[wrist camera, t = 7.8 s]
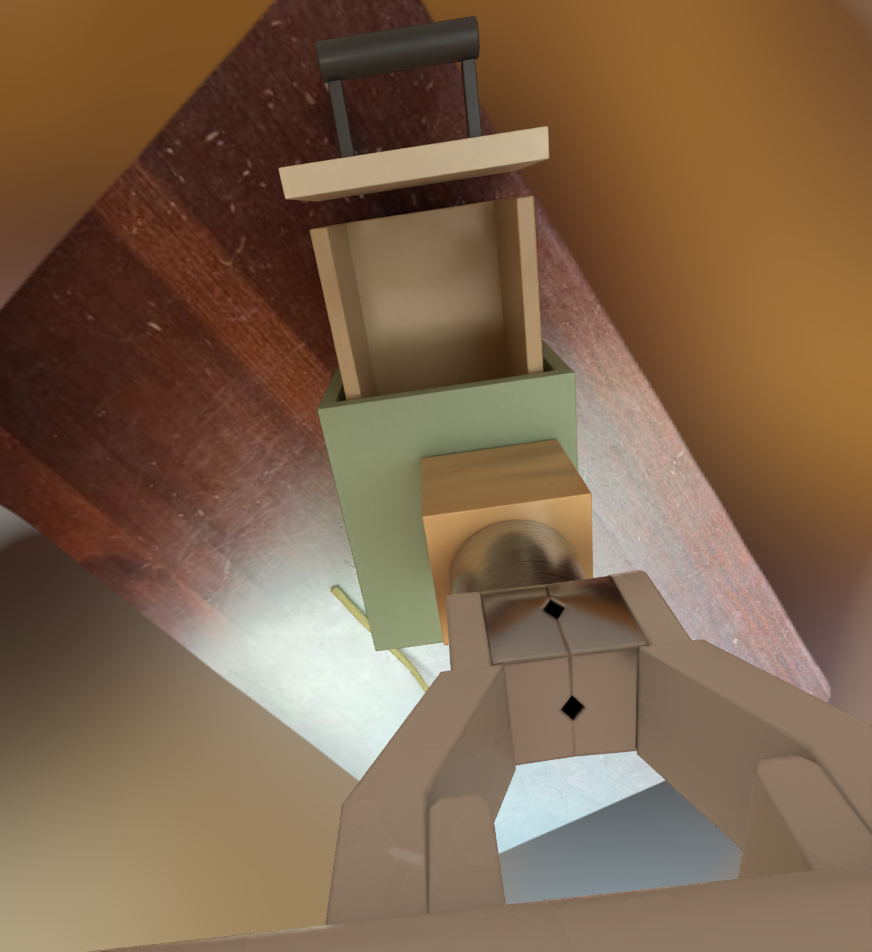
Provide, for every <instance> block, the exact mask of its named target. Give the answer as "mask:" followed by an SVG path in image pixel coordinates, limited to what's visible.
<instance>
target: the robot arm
mask: <svg viewBox="0 0 872 952" xmlns="http://www.w3.org/2000/svg"><path fill="white" fill-rule="evenodd" d="M446 609H447V623H448V637H449V651H450V665H451V671H445V672H441V673H440V674H439V675H438V677H437V678H436V679H435V681H434V682H433V683H432V685H431V686H430V687H429V689H428V690H427V691H426V693H425V694H424V695H423V697H422V698H421V699H420V701H419V702H418V704H417V705H416V706H415V708H414V709H413V710H412V712H411V713H410V714H409V716H408V717H407V718H406V720H405V721H404V722H403V724H402V725H401V726H400V728H399V729H398V730H397V732H396V733H395V734H394V736H393V737H392V738H391V740H390V741H389V742H388V744H387V745H386V746H385V748H384V749H383V751H382V752H381V753H380V755H379V756H378V757H377V759H376V760H375V761H374V763H373V764H372V765H371V767H370V768H369V769H368V771H367V772H366V773H365V775H364V776H363V777H362V779H361V780H360V781H359V783H358V784H357V785H356V787H355V788H354V789H353V791H352V792H351V794H350V795H349V796H348V798H347V799H346V800H345V802H344V803H343V804H342V808H341V815H340V823H339V830H338V837H337V844H336V852H335V859H334V866H333V874H332V881H331V888H330V895H329V902H328V909H327V917H326V924H325V925H321V926H312V927H304V928H294V929H285V930H276V931H267V932H259V933H250V934H241V935H232V936H223V937H214V938H205V939H197V940H187V941H178V942H170V943H161V944H152V945H143V946H134V947H126V948H116V949H108V950H98V951H90V952H872V726H871V725H869V724H867V723H865V722H863V721H861V720H860V719H858V718H855V717H853V716H852V715H850V714H848V713H846V712H844V711H842V710H840V709H838V708H836V707H834V706H832V705H830V704H828V703H826V702H824V701H822V700H820V699H818V698H816V697H814V696H812V695H811V694H809V693H807V692H805V691H803V690H801V689H799V688H797V687H795V686H793V685H791V684H789V683H787V682H785V681H783V680H781V679H779V678H777V677H775V676H773V675H771V674H769V673H767V672H765V671H763V670H761V669H760V668H758V667H756V666H754V665H752V664H750V663H748V662H746V661H744V660H742V659H740V658H738V657H736V656H734V655H732V654H730V653H728V652H726V651H724V650H722V649H720V648H718V647H716V646H714V645H712V644H710V643H708V642H707V641H705V640H703V639H701V640H691V639H690V637H689V636H688V634H687V633H686V631H685V630H684V628H683V627H682V625H681V624H680V622H679V621H678V619H677V618H676V616H675V615H674V613H673V612H672V610H671V609H670V607H669V606H668V604H667V603H666V602H665V600H664V599H663V597H662V596H661V594H660V593H659V591H658V590H657V588H656V587H655V585H654V584H653V582H652V581H651V579H650V578H649V576H648V575H647V573H646V572H644V571H642V570H637V571H631V572H624V573H618V574H612V575H608V576H606V577H598V578H591V579H584V580H576V581H569V582H562V583H554V584H547V585H544V584H542V585H533V586H523V587H514V588H505V589H495V590H486V591H480V594H479V592H478V591H477V592H469V593H462V594H454V595H447V598H446ZM629 751H637V754H638V755H639V756H640V757H641V758H642V759H643V760H644V761H645V762H646V763H647V764H649V765H650V766H651V767H652V768H653V769H654V770H655V771H656V772H657V773H658V774H660V775H661V776H662V777H663V778H664V779H665V780H666V781H667V782H668V783H669V784H671V785H672V786H673V787H674V788H675V789H676V790H677V791H678V792H679V793H680V794H682V795H683V796H684V797H685V798H686V799H687V800H688V801H689V802H690V803H691V804H692V805H693V806H695V807H696V808H697V809H698V810H699V811H700V812H701V813H702V814H703V815H704V816H705V817H707V818H708V819H709V820H710V821H711V822H712V823H713V824H714V825H715V826H716V827H717V828H719V829H720V830H721V831H722V832H723V833H724V834H725V835H726V836H727V837H728V838H730V839H731V840H732V841H733V842H734V843H735V844H736V845H737V846H738V847H739V848H740V849H742V856H741V863H740V870H739V876H738V879H733V880H724V881H715V882H706V883H697V884H688V885H679V886H670V887H661V888H652V889H643V890H634V891H625V892H616V893H607V894H598V895H589V896H580V897H571V898H562V899H553V900H544V901H536V902H526V903H517V904H508V905H506V904H505V897H504V890H503V883H502V876H501V869H500V862H499V854H498V847H497V840H496V833H495V826H494V822H495V819H496V817H497V814H498V812H499V809H500V807H501V804H502V802H503V799H504V797H505V794H506V792H507V789H508V787H509V785H510V782H511V780H512V777H513V775H514V772H515V770H516V768H515V765H521V764H528V763H534V762H541V761H548V760H554V759H561V758H568V757H574V756H586V755H596V754H607V753H618V752H629Z"/></svg>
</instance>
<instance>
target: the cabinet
mask: <svg viewBox="0 0 872 952" xmlns="http://www.w3.org/2000/svg"><path fill="white" fill-rule="evenodd" d="M542 356H543V372H541V373H534V374H527V375H520V376H514V377H507V378H500V379H493V380H486V381H479V382H472V383H465V384H458V385H451V386H444V387H437V388H430V389H423V390H417V391H410V392H403V393H396V394H389V395H382V396H375V397H368V398H361V399H354V400H347V401H346V396H345V392H344V387H343V382H342V378H341V373H340V369H339V365H338V367H337V369H336V371H335V374H334V376H333V378H332V380H331V382H330V384H329V386H328V388H327V390H326V392H325V395H324V397H323V399H322V401H321V403H320V405H319V407H318V409H317V411H318V415H319V419H320V423H321V427H322V431H323V436H324V440H325V444H326V448H327V452H328V456H329V460H330V464H331V469H332V473H333V477H334V481H335V485H336V489H337V493H338V497H339V502H340V506H341V510H342V514H343V518H344V522H345V526H346V530H347V535H348V539H349V543H350V547H351V551H352V555H353V559H354V564H355V568H356V572H357V576H358V580H359V584H360V588H361V592H362V597H363V601H364V605H365V609H366V613H367V617H368V621H369V625H370V630H371V634H372V638H373V642H374V646H375V650H376V651H382V650H389V649H397V648H405V647H412V646H420V645H427V644H435V643H442V642H443V636H442V630H441V625H440V619H439V613H438V607H437V601H436V595H435V589H434V584H433V578H432V572H431V566H430V560H429V554H428V548H427V543H426V537H425V531H424V525H423V519H422V494H421V458H427V457H434V456H442V455H449V454H456V453H463V452H470V451H477V450H484V449H491V448H498V447H505V446H512V445H520V444H527V443H534V442H541V441H548V440H555V439H557V440H558V441H559V443H560V444H561V446H562V448H563V449H564V451H565V452H566V454H567V456H568V457H569V459H570V460H571V462H572V464H573V465H574V467H575V468H576V470H577V472H578V457H577V423H576V389H575V372H574V371H573V370H572V369H571V368H570V367H569V366H568V365H567V364H566V363H565V362H564V361H563V360H562V359H561V358H560V357H559V356H558V355H557V354H556V353H555V352H554V351H553V350H552V349H551V348H550V347H549V346H548V345H547V344H546V343H545V342H544V341H543V340H542Z"/></svg>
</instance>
